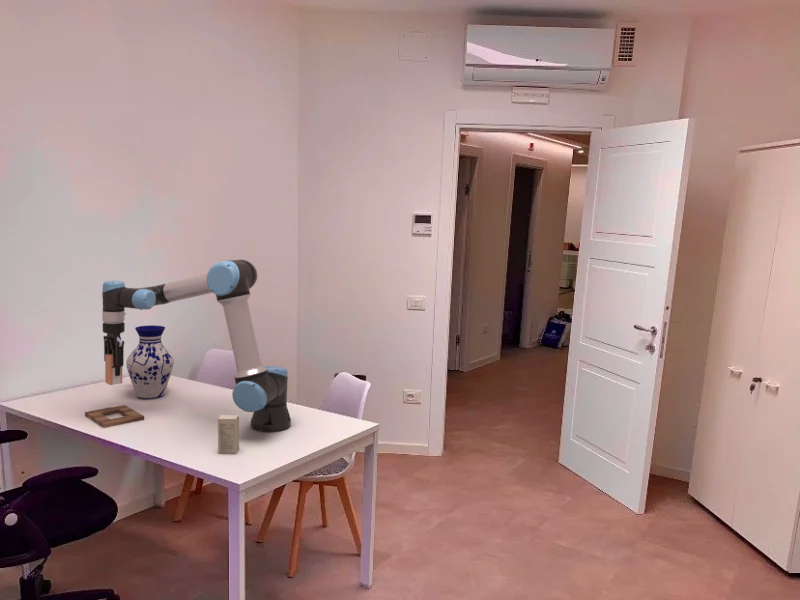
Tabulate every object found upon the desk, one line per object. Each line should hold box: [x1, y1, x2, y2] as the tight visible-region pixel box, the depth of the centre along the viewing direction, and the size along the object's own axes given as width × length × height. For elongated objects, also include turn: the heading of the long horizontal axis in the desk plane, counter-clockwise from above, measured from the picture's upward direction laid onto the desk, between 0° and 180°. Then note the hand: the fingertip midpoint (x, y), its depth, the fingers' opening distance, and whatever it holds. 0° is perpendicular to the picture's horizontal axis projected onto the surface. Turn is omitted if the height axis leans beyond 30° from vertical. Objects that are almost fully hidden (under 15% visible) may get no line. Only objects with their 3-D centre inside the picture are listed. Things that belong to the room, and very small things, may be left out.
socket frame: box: [84, 404, 145, 429], centre depth 231 cm, size 18×15×2 cm
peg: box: [104, 354, 123, 386], centre depth 229 cm, size 4×4×11 cm
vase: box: [126, 325, 175, 400], centre depth 259 cm, size 19×19×30 cm
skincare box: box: [217, 414, 240, 455], centre depth 203 cm, size 6×4×12 cm
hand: (113, 382), depth 229 cm, fingers closed on peg, 4 cm apart
